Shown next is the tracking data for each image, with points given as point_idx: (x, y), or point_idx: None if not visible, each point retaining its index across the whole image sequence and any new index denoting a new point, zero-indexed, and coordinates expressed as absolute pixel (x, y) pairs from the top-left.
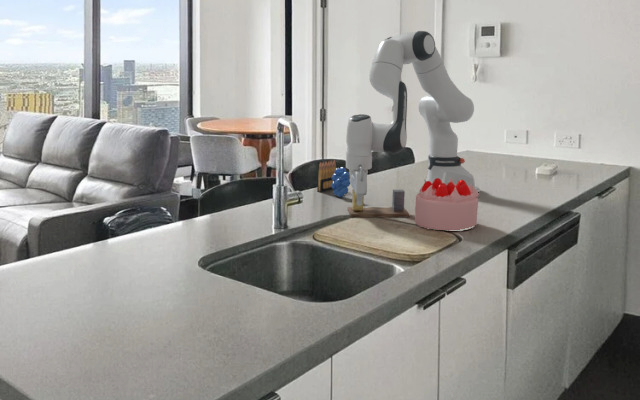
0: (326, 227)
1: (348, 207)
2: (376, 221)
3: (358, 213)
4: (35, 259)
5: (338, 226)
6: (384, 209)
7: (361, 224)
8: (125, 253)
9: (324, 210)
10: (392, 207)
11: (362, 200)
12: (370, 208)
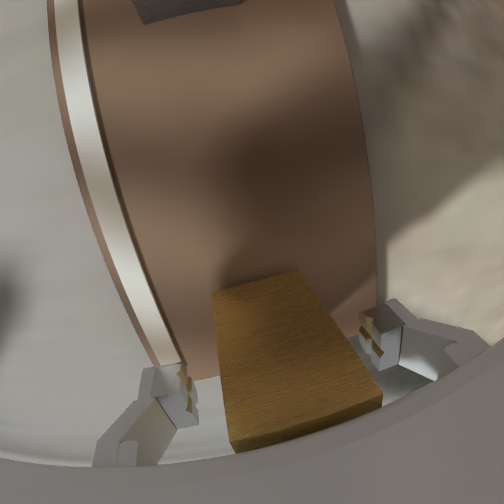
0: (492, 342)
1: None
2: (451, 151)
3: (360, 287)
4: None
5: (494, 312)
6: (165, 87)
7: (490, 230)
8: None
9: (226, 447)
10: (157, 13)
11: (333, 326)
12: (156, 224)
